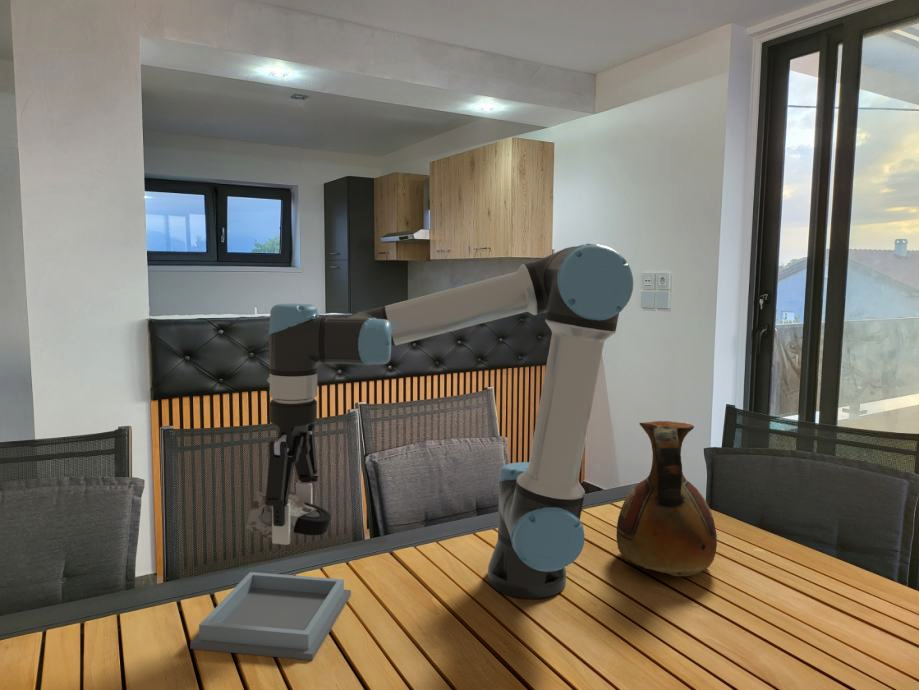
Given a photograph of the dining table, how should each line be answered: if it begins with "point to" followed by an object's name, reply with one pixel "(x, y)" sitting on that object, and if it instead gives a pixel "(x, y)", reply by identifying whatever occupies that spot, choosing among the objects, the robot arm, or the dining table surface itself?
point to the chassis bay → (274, 616)
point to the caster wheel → (301, 517)
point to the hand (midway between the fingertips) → (293, 530)
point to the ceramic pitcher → (667, 511)
